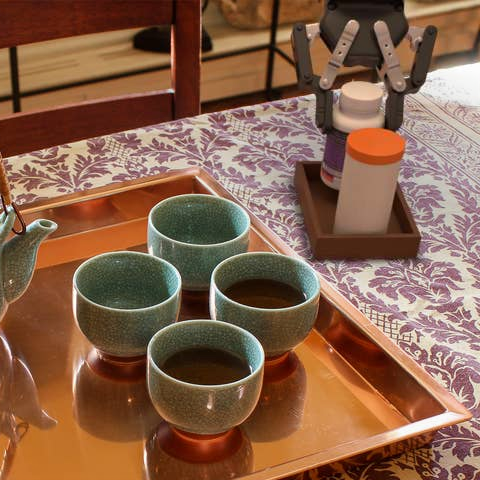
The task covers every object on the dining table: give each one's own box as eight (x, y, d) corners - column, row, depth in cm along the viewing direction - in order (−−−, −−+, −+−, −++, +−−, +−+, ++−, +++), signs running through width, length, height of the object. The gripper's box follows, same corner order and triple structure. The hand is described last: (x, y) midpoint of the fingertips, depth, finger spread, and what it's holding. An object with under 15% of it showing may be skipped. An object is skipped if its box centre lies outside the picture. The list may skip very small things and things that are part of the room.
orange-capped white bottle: (380, 219, 93) (398, 127, 86) (391, 249, 89) (412, 155, 82) (327, 219, 93) (342, 127, 86) (336, 249, 89) (352, 155, 82)
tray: (293, 181, 99) (295, 160, 98) (385, 180, 99) (389, 159, 98) (313, 259, 89) (317, 237, 87) (416, 258, 89) (421, 236, 87)
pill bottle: (374, 195, 93) (391, 105, 87) (319, 191, 94) (332, 101, 87) (373, 167, 97) (390, 79, 91) (320, 163, 98) (333, 75, 91)
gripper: (295, -60, 88) (287, 119, 87) (452, -57, 87) (445, 124, 86) (286, -23, 95) (278, 142, 94) (431, -20, 94) (424, 147, 93)
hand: (358, 132), depth 90 cm, fingers closed on pill bottle, 5 cm apart
